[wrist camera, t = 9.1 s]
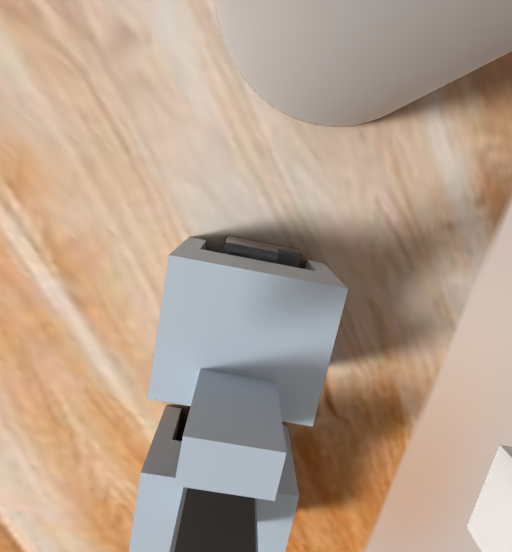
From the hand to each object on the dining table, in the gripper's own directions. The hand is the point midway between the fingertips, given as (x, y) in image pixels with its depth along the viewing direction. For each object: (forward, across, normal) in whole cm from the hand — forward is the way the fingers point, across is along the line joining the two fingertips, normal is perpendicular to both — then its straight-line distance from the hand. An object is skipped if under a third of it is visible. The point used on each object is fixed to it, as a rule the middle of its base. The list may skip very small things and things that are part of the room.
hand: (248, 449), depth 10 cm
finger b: (+14, -1, -1) cm, 14 cm away
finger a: (+14, 0, -12) cm, 18 cm away
